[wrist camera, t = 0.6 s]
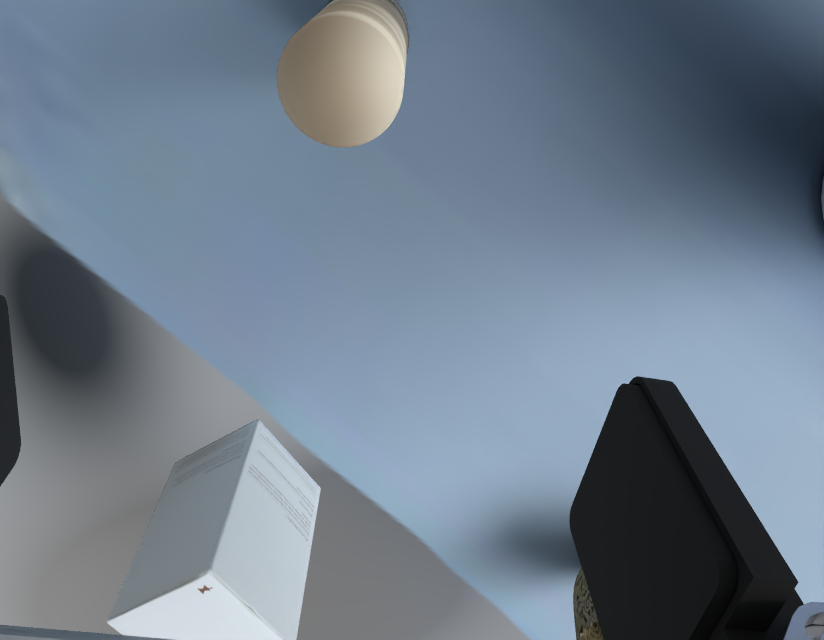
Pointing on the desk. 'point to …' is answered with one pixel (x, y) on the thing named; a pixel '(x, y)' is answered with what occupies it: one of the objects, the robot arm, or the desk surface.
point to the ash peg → (345, 71)
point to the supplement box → (224, 546)
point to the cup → (585, 611)
